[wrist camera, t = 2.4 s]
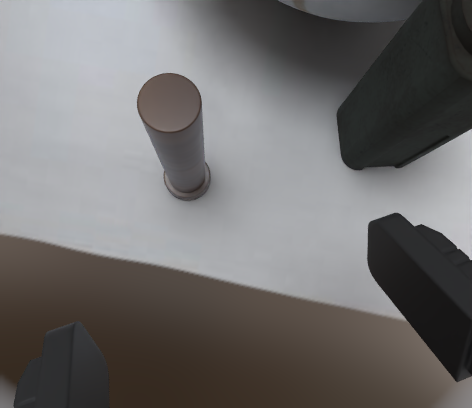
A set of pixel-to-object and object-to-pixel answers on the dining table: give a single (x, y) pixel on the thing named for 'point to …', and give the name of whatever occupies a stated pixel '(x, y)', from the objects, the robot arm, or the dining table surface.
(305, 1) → the dishware bowl
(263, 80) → the dining table surface
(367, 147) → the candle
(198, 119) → the brown flanged cylinder
